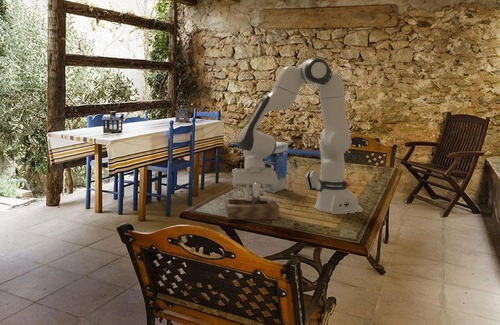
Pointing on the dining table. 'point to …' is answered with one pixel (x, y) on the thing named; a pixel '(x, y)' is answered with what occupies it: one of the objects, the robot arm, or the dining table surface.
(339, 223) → the dining table surface
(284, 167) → the string lights box
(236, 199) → the wooden compartment tray
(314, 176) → the hinge
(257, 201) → the steel peg
